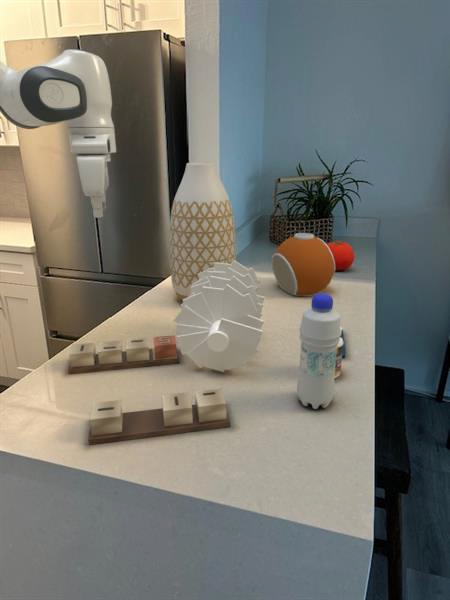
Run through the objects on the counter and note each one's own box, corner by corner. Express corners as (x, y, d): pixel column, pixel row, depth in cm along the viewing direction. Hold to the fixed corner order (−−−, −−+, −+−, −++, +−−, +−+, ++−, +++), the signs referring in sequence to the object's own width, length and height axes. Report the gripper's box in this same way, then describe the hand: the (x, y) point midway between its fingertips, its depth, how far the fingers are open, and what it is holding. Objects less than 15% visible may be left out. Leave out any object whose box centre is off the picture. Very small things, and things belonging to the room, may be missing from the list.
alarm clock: (343, 295, 129) (349, 238, 123) (293, 303, 122) (296, 243, 116) (308, 277, 145) (311, 226, 139) (262, 284, 139) (263, 230, 133)
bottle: (295, 389, 79) (301, 287, 73) (332, 392, 78) (342, 289, 72) (295, 410, 73) (301, 300, 66) (335, 414, 72) (346, 303, 65)
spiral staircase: (196, 394, 85) (210, 335, 108) (278, 364, 81) (275, 310, 104) (151, 318, 80) (176, 273, 103) (237, 281, 75) (243, 243, 98)
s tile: (155, 359, 89) (154, 345, 88) (154, 349, 93) (153, 336, 92) (176, 357, 90) (176, 343, 89) (175, 347, 94) (174, 334, 93)
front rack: (88, 445, 65) (85, 422, 64) (92, 421, 71) (89, 400, 69) (230, 426, 69) (230, 405, 68) (223, 405, 75) (223, 385, 73)
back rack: (68, 374, 85) (65, 355, 84) (72, 360, 91) (70, 342, 89) (179, 363, 89) (178, 345, 88) (176, 350, 95) (175, 333, 93)
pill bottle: (326, 383, 81) (330, 335, 78) (304, 371, 86) (307, 325, 82) (346, 374, 85) (351, 328, 81) (324, 363, 89) (327, 319, 86)
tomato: (328, 263, 163) (331, 236, 159) (359, 269, 154) (362, 241, 151) (311, 268, 156) (313, 240, 152) (341, 276, 147) (344, 246, 144)
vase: (162, 307, 120) (154, 164, 107) (184, 286, 137) (179, 161, 124) (227, 312, 116) (226, 165, 103) (241, 291, 133) (242, 161, 120)
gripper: (82, 144, 95) (89, 207, 100) (69, 144, 76) (79, 222, 81) (111, 143, 96) (117, 206, 101) (106, 143, 77) (113, 220, 82)
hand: (100, 213), depth 91 cm, fingers open, 8 cm apart
